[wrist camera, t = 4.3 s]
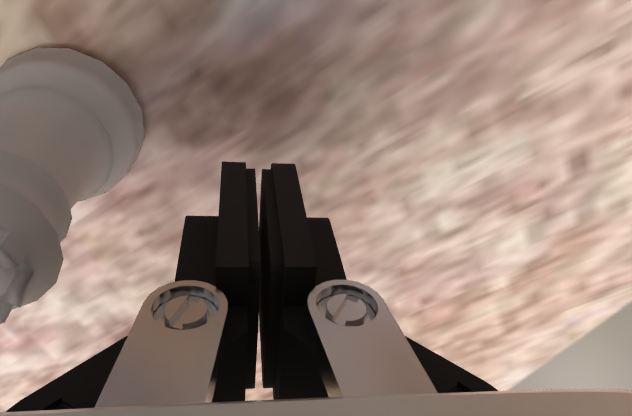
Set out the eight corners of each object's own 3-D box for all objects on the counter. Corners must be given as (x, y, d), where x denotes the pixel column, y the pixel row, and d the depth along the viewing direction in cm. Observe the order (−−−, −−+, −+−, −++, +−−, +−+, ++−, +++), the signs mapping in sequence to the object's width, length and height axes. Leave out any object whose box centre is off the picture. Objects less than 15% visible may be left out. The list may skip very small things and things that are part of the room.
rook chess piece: (29, 190, 17) (-110, 386, 10) (-37, 55, 15) (-275, 192, 8) (164, 167, 17) (115, 344, 10) (120, 30, 15) (21, 143, 8)
